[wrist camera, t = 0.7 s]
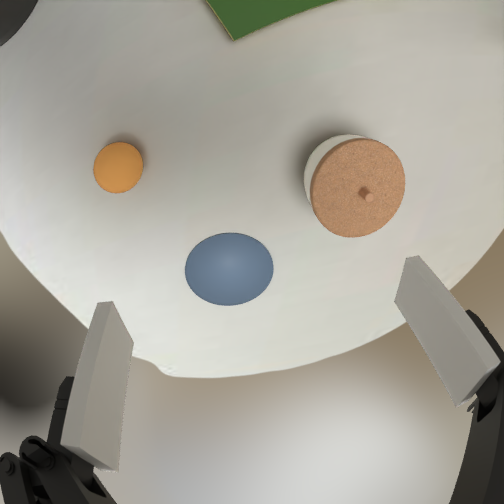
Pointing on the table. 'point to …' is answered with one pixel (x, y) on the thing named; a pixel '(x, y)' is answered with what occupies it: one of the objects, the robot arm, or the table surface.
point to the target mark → (229, 269)
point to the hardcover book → (257, 13)
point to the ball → (118, 167)
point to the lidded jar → (354, 184)
